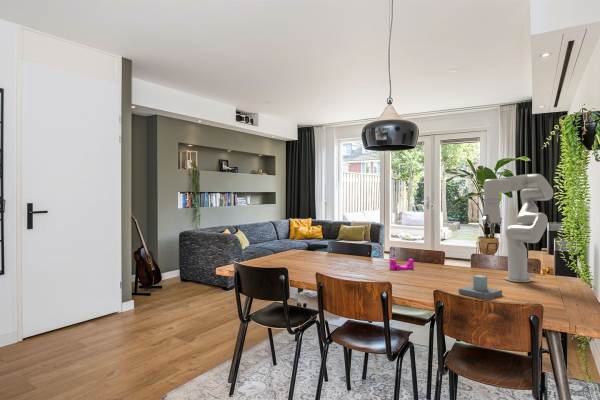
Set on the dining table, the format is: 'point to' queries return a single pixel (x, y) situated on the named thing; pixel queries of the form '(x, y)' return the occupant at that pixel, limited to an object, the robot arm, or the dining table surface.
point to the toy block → (405, 267)
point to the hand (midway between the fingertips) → (492, 234)
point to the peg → (480, 283)
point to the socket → (480, 292)
